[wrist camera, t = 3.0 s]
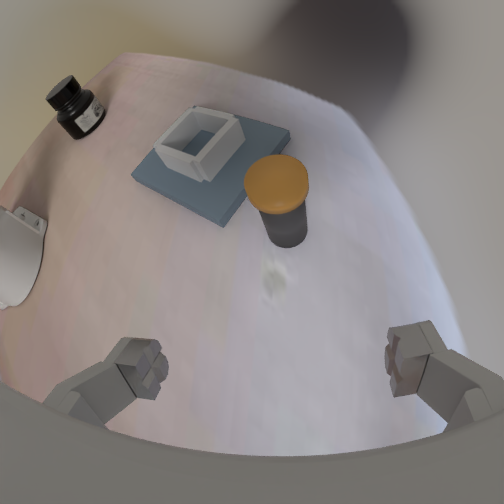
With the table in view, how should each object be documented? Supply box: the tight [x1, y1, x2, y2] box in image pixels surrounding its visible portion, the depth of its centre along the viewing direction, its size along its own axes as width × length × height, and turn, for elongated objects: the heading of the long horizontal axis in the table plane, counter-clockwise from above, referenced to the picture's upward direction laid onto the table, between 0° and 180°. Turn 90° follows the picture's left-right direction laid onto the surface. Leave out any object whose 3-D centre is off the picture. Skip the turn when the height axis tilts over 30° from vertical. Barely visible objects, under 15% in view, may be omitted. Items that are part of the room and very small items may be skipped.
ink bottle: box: [46, 75, 105, 140], centre depth 41 cm, size 10×9×12 cm
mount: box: [131, 106, 290, 228], centre depth 32 cm, size 16×14×5 cm
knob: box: [244, 154, 309, 248], centre depth 24 cm, size 5×5×8 cm
